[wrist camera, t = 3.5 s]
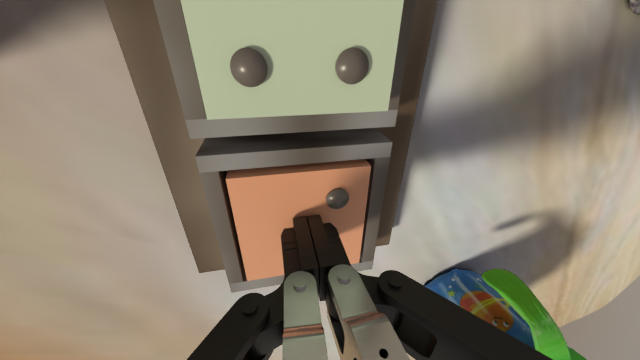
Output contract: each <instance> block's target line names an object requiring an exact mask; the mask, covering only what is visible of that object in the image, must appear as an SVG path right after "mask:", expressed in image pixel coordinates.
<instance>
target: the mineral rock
mask: <svg viewBox="0 0 640 360" xmlns="http://www.w3.org/2000/svg"><path fill="white" fill-rule="evenodd" d="M630 7H631V9H632V11H633V13H636V14H640V0H630Z"/></svg>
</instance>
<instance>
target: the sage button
mask: <svg viewBox="0 0 640 360" xmlns="http://www.w3.org/2000/svg"><path fill="white" fill-rule="evenodd" d="M403 3H404V0H181V5H182V9H183V14H184V18H185V23H186V27H187V32H188V36H189V41H190V45H191V50H192V54H193V59H194V63H195V68H196V72H197V77H198V81H199V85H200V90H201V94H202V99H203V103H204V108H205V112H206V117H207V120H213V119H233V118H254V117H274V116H295V115H315V114H336V113H357V112H377V111H388V107H389V100H390V93H391V86H392V79H393V72H394V66H395V59H396V52H397V45H398V38H399V31H400V24H401V17H402V10H403Z"/></svg>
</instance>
